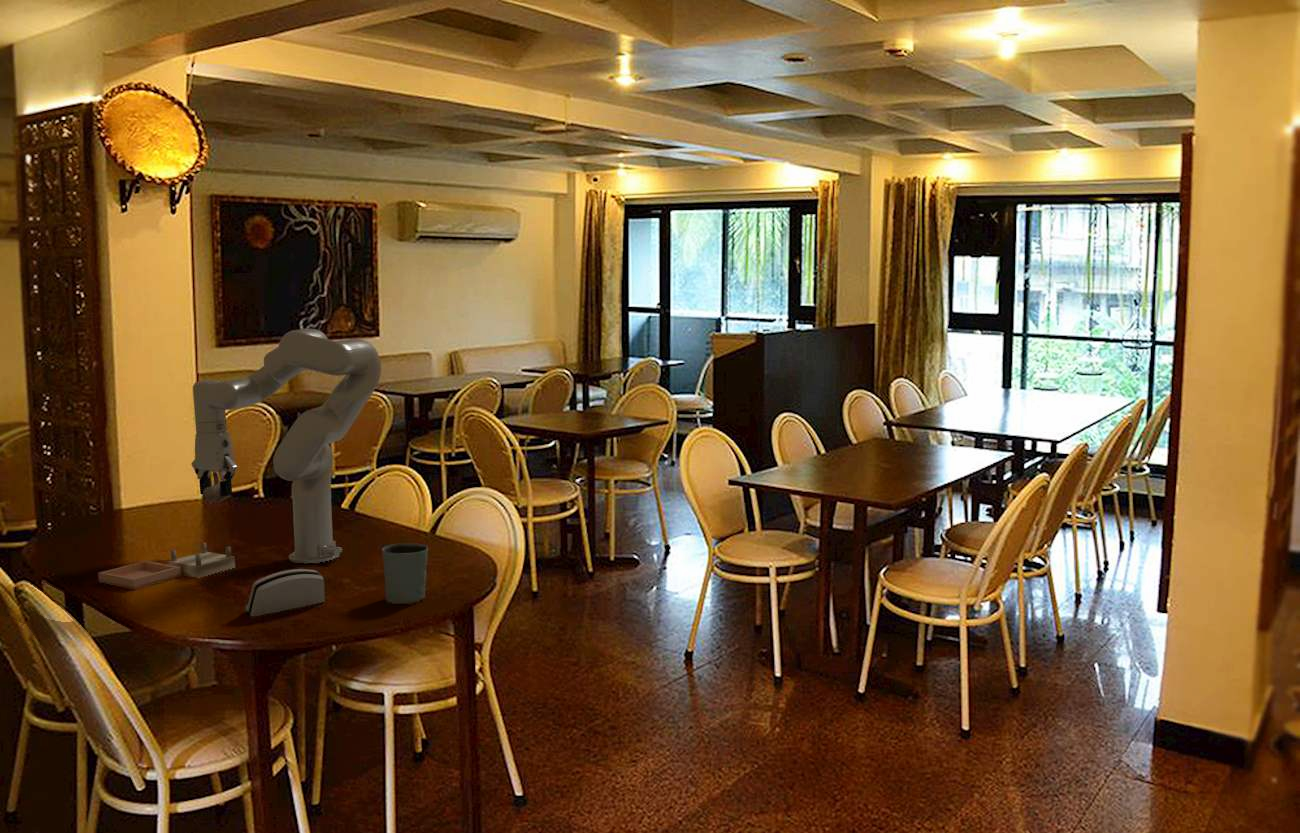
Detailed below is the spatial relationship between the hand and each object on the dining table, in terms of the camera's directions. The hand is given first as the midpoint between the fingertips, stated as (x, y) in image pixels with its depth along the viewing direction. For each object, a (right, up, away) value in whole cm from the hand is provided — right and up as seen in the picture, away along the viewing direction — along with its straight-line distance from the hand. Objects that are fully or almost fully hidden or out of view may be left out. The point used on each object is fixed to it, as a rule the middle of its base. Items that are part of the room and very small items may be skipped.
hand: (216, 494), depth 293 cm
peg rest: (+2, -18, -15) cm, 24 cm away
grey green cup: (+59, -21, -41) cm, 75 cm away
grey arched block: (+34, -22, -47) cm, 63 cm away
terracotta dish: (-9, -19, -24) cm, 32 cm away
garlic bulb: (0, -2, 0) cm, 2 cm away
